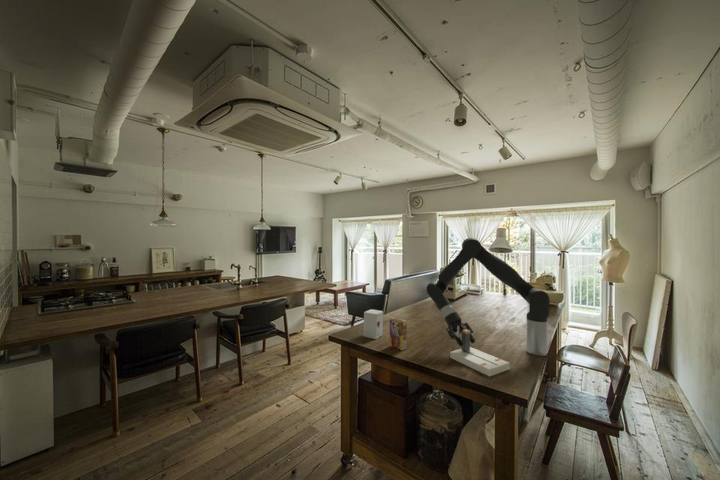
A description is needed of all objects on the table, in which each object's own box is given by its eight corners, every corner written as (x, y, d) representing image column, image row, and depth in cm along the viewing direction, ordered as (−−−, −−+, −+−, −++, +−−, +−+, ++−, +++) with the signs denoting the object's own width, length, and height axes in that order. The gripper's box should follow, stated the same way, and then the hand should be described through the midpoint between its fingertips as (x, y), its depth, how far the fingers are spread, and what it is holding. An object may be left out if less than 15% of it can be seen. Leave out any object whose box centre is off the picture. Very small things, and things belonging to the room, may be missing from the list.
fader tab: (465, 349, 143) (465, 329, 143) (470, 351, 140) (470, 330, 140) (461, 350, 141) (461, 330, 141) (465, 352, 139) (466, 331, 139)
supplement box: (376, 339, 165) (376, 314, 165) (363, 336, 170) (363, 311, 170) (383, 335, 173) (383, 310, 173) (370, 332, 177) (370, 308, 177)
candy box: (407, 348, 151) (407, 320, 151) (402, 351, 148) (402, 322, 148) (393, 344, 158) (393, 317, 158) (389, 346, 154) (389, 318, 154)
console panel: (469, 352, 147) (469, 346, 147) (509, 369, 128) (509, 362, 128) (450, 357, 140) (450, 351, 140) (489, 376, 121) (489, 368, 121)
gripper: (444, 313, 144) (462, 342, 134) (463, 310, 151) (482, 338, 141) (436, 320, 148) (453, 350, 138) (455, 317, 155) (473, 345, 145)
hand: (467, 344), depth 139 cm, fingers open, 8 cm apart
